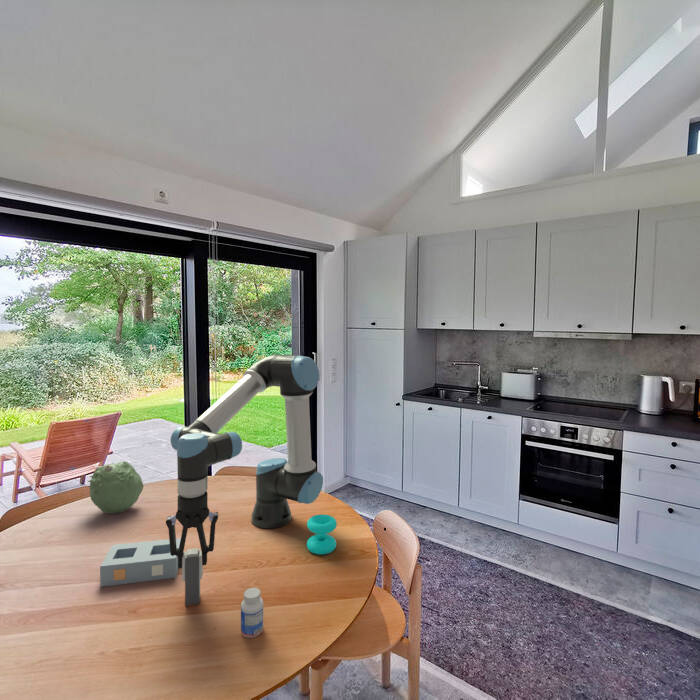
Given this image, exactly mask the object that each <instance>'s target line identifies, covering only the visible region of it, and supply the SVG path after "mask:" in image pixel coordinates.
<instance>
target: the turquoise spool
mask: <svg viewBox="0 0 700 700" xmlns="http://www.w3.org/2000/svg"><path fill="white" fill-rule="evenodd" d="M337 524H338V523H337V520H336V518H334V517H333V516H331V515H329V514H324V513H323V514H316V515H313V516H311V517H309V518H308V520H307V523H306V526H307V528H308V530H309V531H310V532H311V533H314V534H313V535H312V536H310V537H309V538H308V539H307V542H306V548H307V549H308V551H310V553H312V554H314V555H327V554H330V553H332V552H333V551H334V550H335V549H336V547H337V541H336V539H335V538H334V537H333V536H332V535H330V533H332V532H333V531H334V530H335V529H336V528H337Z"/></svg>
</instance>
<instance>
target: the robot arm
mask: <svg viewBox="0 0 700 700" xmlns="http://www.w3.org/2000/svg"><path fill="white" fill-rule="evenodd" d="M242 375H243V376H242V378H240V379H239V380H238V381H237V382H236V383H235V384H234V385H233V386H232V387H231V388H230V389H228V391H226V392H225V393H224V394H222V396H221V397H220V398H219V399H217V400H216V401H215V402H214V403H213V404H212V405H211V406H210V407H208V408H207V410H205V411H204V412H203V413H202V414H200V415H199V417H198V418H196V419H195V420H194V421H193V422H192V423H190V425H188V426H186V425H185V426H179V427H177V428H176V429H174V430H173V432H172V434H171V436H170V444H171V447H172V449H174V450H175V451H176V455H177V459H176V460H177V461H176V462H177V464H176V465H177V494H178V495H177V510H176V512H175V514H174V515H172V516H171V515H168V516H167V517H166V520H165V525H166V526H167V529H168V538H169V542H170V554H171V556H174V555H176V556H177V557H178V569H182V570H181V572H182V573H181V574H182V575H181V577H182V578H181V579H182V580H181V582H185V557H186V553H187V551H185V546H186V542H187V541H186V540H187V536H188V531H189V529H190V528H195V529H196V531H197V535H198V541H199V545H200V553H199V579H200V580H202V579H203V574H204V572H203V571H204V566H206V565H207V564H208V553H210V552H213V551H214V548H215V539H216V538H215V537H216V536H215V535H216V524H217V521H218V520H219V512H218V511H215V512H212V511H210V508H209V506H208V481H209V480H208V471H209V467H210V466H213V465H215V464H218V463H222V462H224V461H229V460H231V459H233V458H235V457H238V456H239V455H240V454H241V453H242V450H243V442H242V438H241V436H240V435H239V433H237V432H234V431H229V432H228V431H227V432H226V431H225V432H224V433H219V432H220V431H221V430H222V429H223V428H224V427H225V426H226V425H227V423H229V422H230V421H231V420H232V419H233V418H234V417H235V416H236V415H237V414H238V413H239V412H240V411H241V410H242V409H244V407H245V406H246V405H247V404H248V403H249V402H251V400H252V399H253V398H254V397H255V396H256V395H257V394H258V393H263V392H264V391H266V389H269V388H271V387H278V388H279V395H280V396H281V397H283V399H284V407H285V427H286V428H285V429H286V445H287V446H286V448H287V459H286V458H282V457H280V458H279V457H277V458H276V457H275V458H270V459H265V460H263V461H260V462H259V463H257V465H256V472H255V477H256V478H255V479H256V480H255V483H256V484H255V487H256V488H255V490H256V491H255V492H256V496H255V497H256V499H255V503H254V506H253V510H252V512H251V518H250V519H251V523H252V524H253V526H255V527H257V528H262V529H276V528H281V527H284V526H286V525H288V524H289V523H290V522H291V520H292V511H291V508H290V505H289V500H291V501H294V502H298V503H299V504H306V505H310V504H312V503H314V502H315V501H316V500H317V499H318V497H319V495H320V493H321V492H322V489H323V485H324V478H323V474H322V473H321V472H319V471H317V464H316V462H315V461H314V460H312V439H311V437H312V436H311V416H310V397H311V395H312V394H313V393H314V389H315V388H316V387H317V386H318V384H319V380H320V372H319V367H318V365H317V363H316V361H315V360H314V359H313V358H311V357H309V356H303V355H301V354H300V355H298V354H297V355H296V354H294V355H293V354H279V353H277V354H276V353H275V354H271V355H268V356H265V357H263V358H261V359H260V360H258V361H256V362H255V363H254V364H252V365H251V366H250V367H249V368H248V369H246V370H245V371H244V373H243V374H242ZM207 518H208V520H209V522H210V529H209V544H208V545H207V538H206V534H205V530H204V529H205V527H204V522H205V521H206V519H207ZM177 521H178V523H179V524H181V526H182V529H181V535H180V536H181V537H180V538H181V541H180V546H179V549H178V548H177V546H176V539H177V533H176V524H177V523H176V522H177Z"/></svg>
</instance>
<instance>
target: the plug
mask: <svg viewBox="0 0 700 700" xmlns="http://www.w3.org/2000/svg"><path fill="white" fill-rule="evenodd" d="M200 551H201V549H199V547H197V548H188V549H187V551H186V552H187V553H186V557H185V581H184V606H191V605H199V604H200V601H201V600H200V599H201V579H199V553H200Z"/></svg>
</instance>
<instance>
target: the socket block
mask: <svg viewBox="0 0 700 700" xmlns="http://www.w3.org/2000/svg"><path fill="white" fill-rule="evenodd" d="M180 541H181V537H179V538H177V537H176V546H177V548H178V549H179V546H180ZM178 571H179V568H178V557H177V556H176V555H174V556H171V554H170V542H169V539H167V538H166V539H159V540H148V541H138V542H127V543H118V544H112V546H111V547H110V548H109V550H108V552H107V554H106V556H105V557H104V559H103V560H102V562H101V564H100V565H99V575H100V577H99V579H100V580H99V582H100V583H99V585H100V587H101V588H103V587H110V586H119V585H126V584H128V585H129V584H134V583H143V582H145V583H146V582H151V581H160V580H167V579H176V578H177V576H178V575H177V574H178Z"/></svg>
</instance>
